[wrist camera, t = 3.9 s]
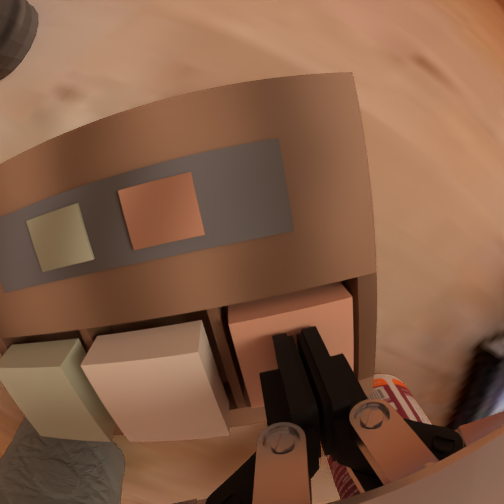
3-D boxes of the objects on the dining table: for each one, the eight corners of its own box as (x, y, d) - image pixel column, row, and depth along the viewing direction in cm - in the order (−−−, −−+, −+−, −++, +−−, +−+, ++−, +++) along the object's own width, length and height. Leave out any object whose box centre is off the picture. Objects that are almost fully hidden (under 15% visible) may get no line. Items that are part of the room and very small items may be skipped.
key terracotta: (334, 275, 13) (352, 296, 11) (339, 358, 14) (353, 384, 12) (227, 298, 12) (228, 324, 11) (248, 378, 14) (252, 408, 12)
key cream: (201, 320, 11) (197, 352, 9) (229, 402, 13) (230, 435, 11) (97, 335, 11) (80, 365, 9) (137, 411, 13) (129, 442, 11)
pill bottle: (299, 433, 17) (338, 586, 7) (343, 363, 16) (429, 544, 5) (373, 434, 18) (428, 556, 8) (419, 372, 17) (508, 500, 6)
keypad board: (328, 85, 11) (357, 69, 8) (355, 363, 16) (375, 399, 13) (-25, 190, 11) (-63, 201, 8) (66, 403, 15) (50, 436, 12)
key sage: (78, 338, 11) (60, 366, 9) (120, 411, 13) (110, 441, 11) (11, 344, 11) (-8, 367, 9) (53, 411, 12) (40, 436, 11)
